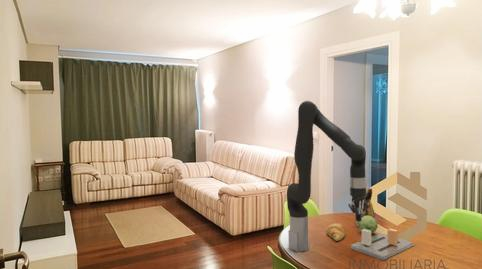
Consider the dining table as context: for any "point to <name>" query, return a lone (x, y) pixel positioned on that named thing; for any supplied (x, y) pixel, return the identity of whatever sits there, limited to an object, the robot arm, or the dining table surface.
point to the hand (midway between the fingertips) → (358, 220)
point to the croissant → (336, 231)
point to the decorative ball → (368, 223)
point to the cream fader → (366, 236)
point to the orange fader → (392, 236)
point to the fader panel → (381, 247)
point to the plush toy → (368, 206)
